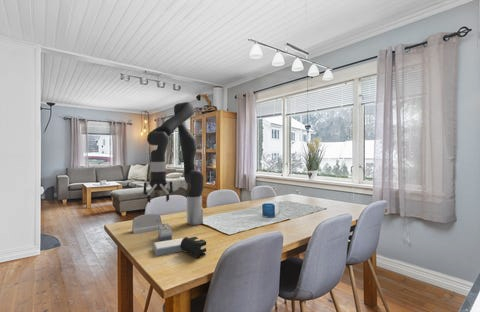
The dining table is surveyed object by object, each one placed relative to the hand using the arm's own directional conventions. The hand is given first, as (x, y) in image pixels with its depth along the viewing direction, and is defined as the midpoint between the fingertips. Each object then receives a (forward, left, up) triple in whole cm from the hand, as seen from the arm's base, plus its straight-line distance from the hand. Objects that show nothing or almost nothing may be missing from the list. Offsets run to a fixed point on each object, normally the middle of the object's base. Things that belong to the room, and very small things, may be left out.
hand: (158, 201), depth 129 cm
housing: (-3, +3, -19) cm, 20 cm away
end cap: (-11, +27, -20) cm, 35 cm away
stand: (-3, +17, -19) cm, 26 cm away
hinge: (+3, -19, -20) cm, 28 cm away
